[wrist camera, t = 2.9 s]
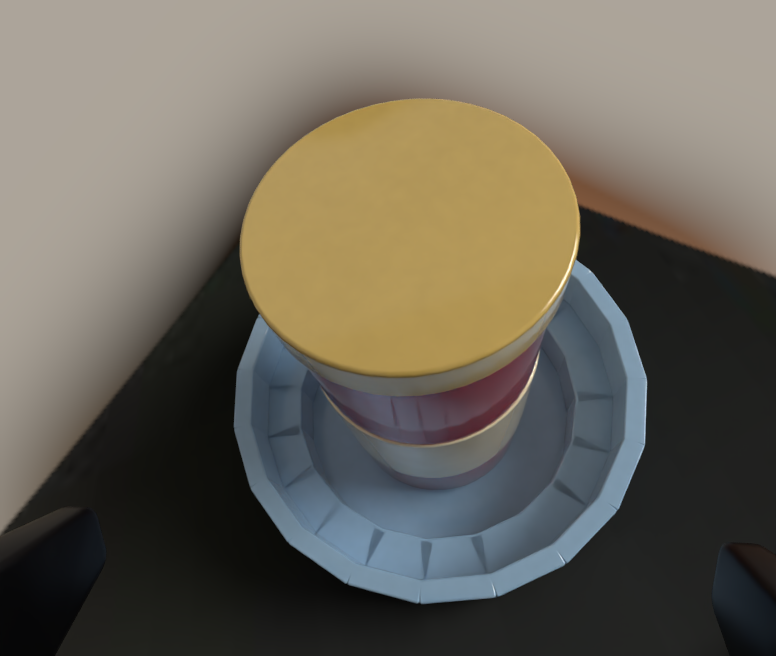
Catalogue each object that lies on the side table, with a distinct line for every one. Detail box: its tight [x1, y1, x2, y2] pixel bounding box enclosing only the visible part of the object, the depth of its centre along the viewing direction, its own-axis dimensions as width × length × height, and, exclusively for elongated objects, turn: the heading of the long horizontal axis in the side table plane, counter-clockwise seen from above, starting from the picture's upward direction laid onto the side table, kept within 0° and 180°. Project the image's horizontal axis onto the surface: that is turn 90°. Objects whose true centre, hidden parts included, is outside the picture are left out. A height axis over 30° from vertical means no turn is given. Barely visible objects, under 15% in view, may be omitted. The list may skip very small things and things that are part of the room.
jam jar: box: [240, 99, 580, 490], centre depth 15 cm, size 6×6×12 cm
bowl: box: [234, 260, 647, 604], centre depth 19 cm, size 13×13×4 cm
